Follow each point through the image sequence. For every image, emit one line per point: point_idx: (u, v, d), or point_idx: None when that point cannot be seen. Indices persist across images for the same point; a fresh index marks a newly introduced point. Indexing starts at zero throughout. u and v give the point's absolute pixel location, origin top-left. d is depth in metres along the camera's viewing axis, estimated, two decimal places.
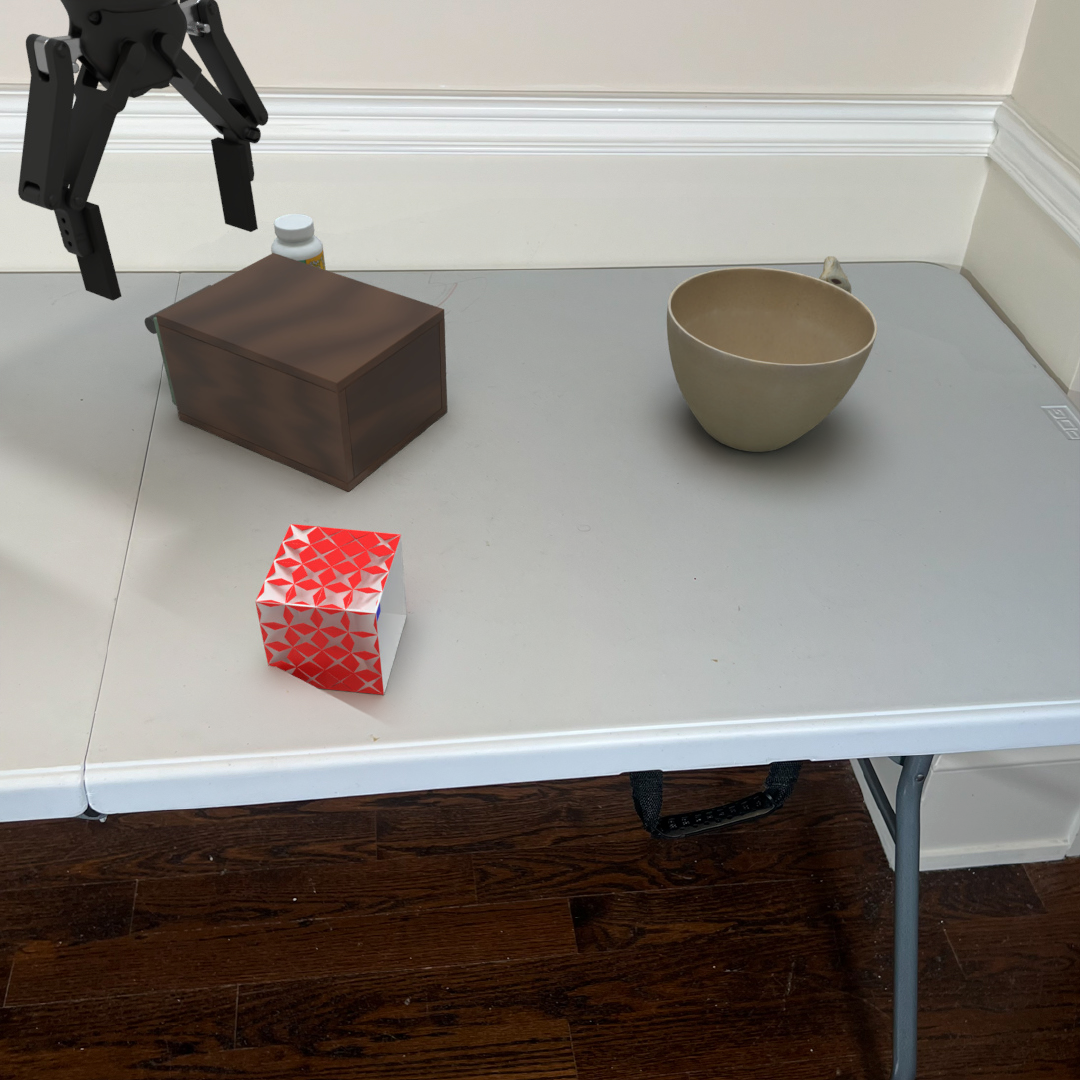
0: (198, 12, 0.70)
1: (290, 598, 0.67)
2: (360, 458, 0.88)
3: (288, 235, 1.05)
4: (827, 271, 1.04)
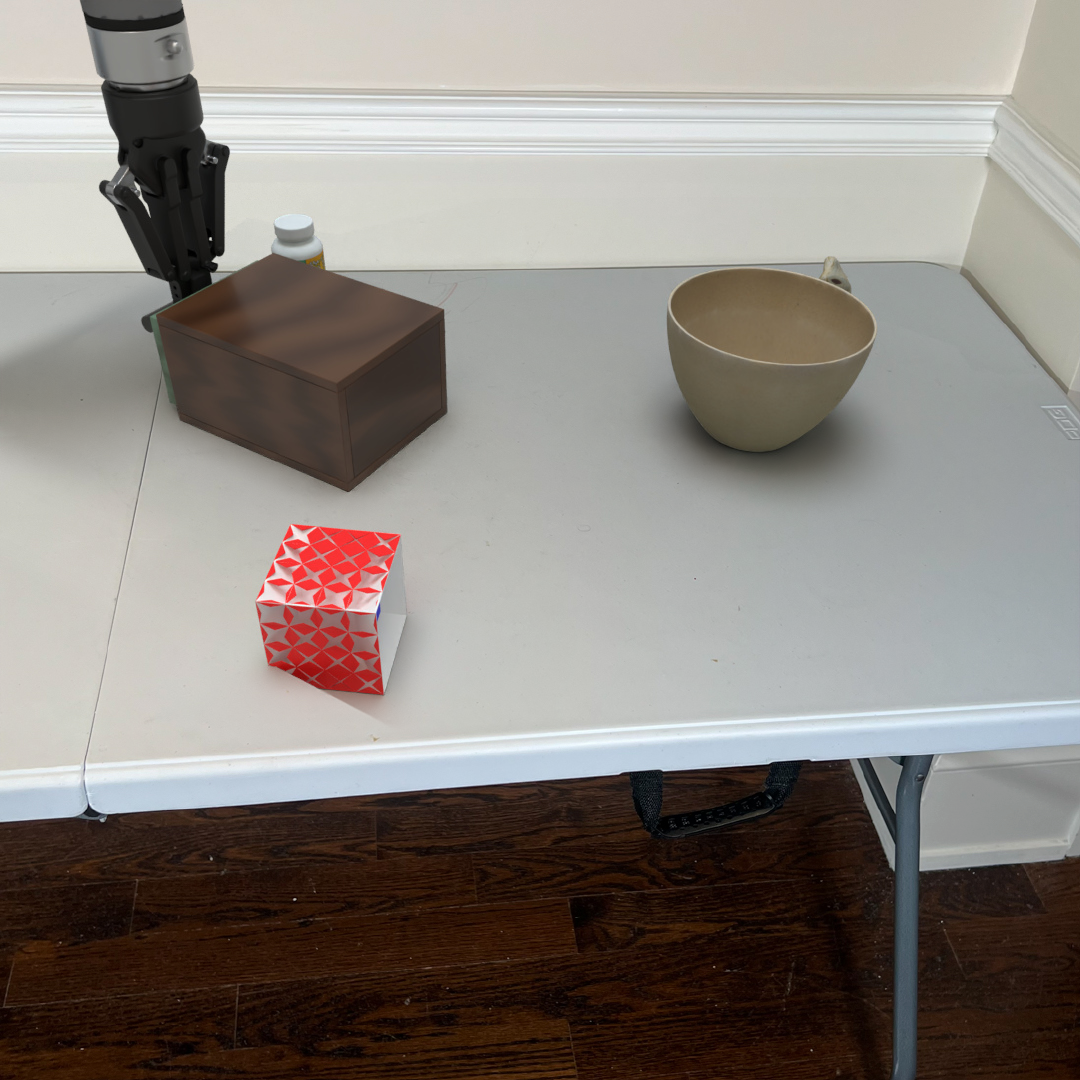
0: (213, 150, 0.92)
1: (290, 598, 0.67)
2: (360, 458, 0.88)
3: (288, 235, 1.05)
4: (827, 272, 1.04)
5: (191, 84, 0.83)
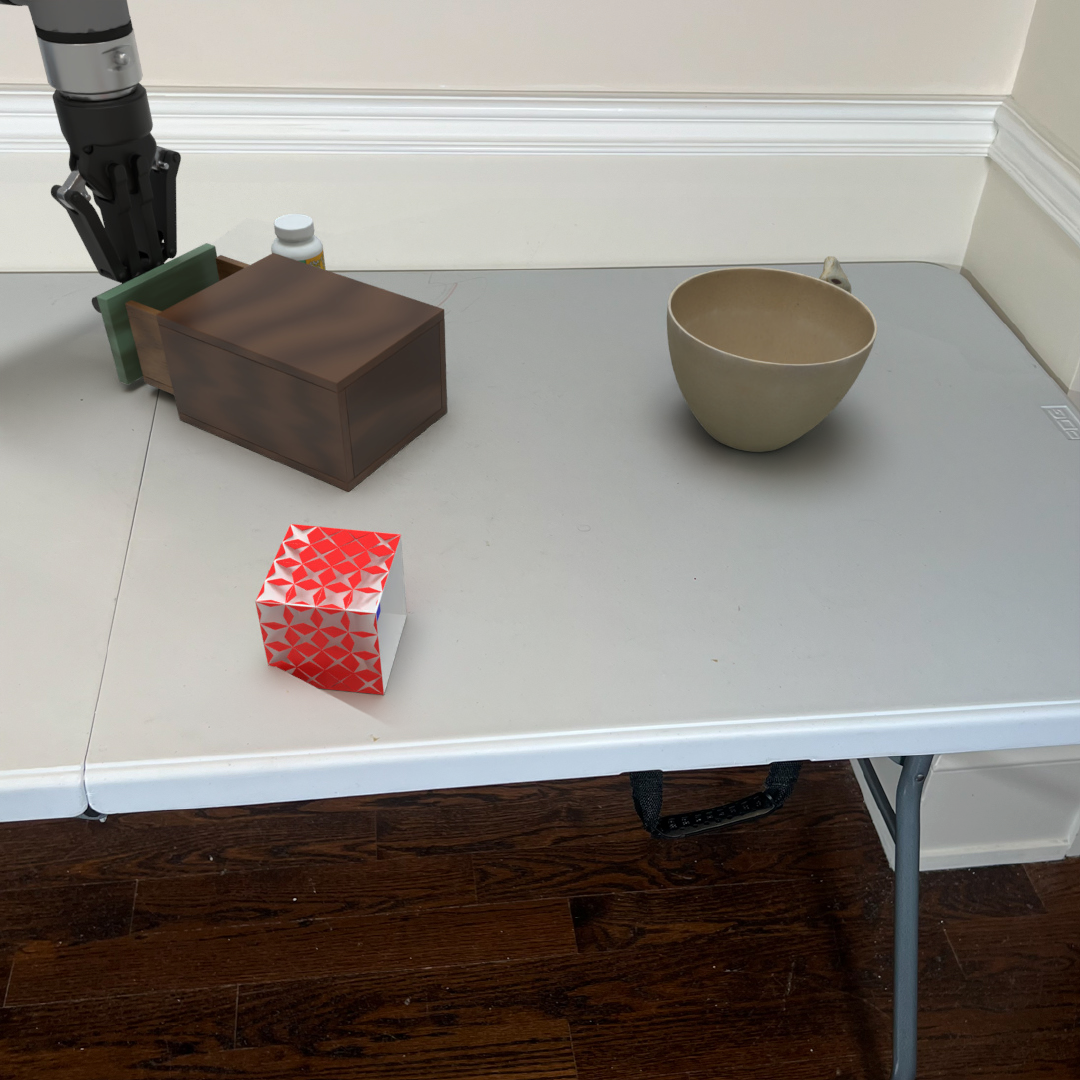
0: (164, 156, 0.95)
1: (290, 598, 0.67)
2: (360, 458, 0.88)
3: (288, 235, 1.05)
4: (827, 272, 1.04)
5: (139, 94, 0.87)
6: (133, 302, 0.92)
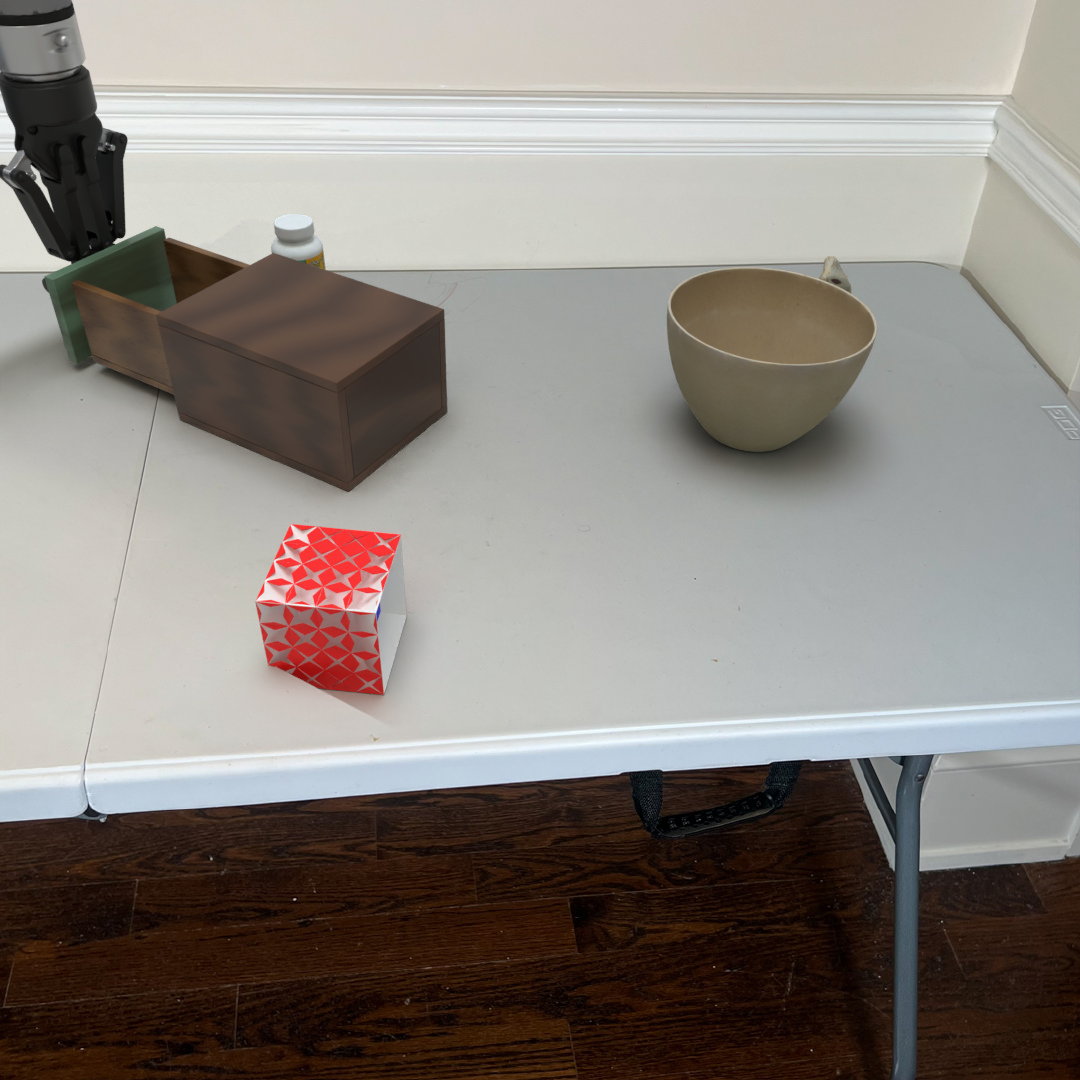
0: (111, 138, 0.98)
1: (290, 598, 0.67)
2: (360, 458, 0.88)
3: (288, 235, 1.05)
4: (827, 271, 1.04)
5: (82, 76, 0.90)
6: (79, 282, 0.95)
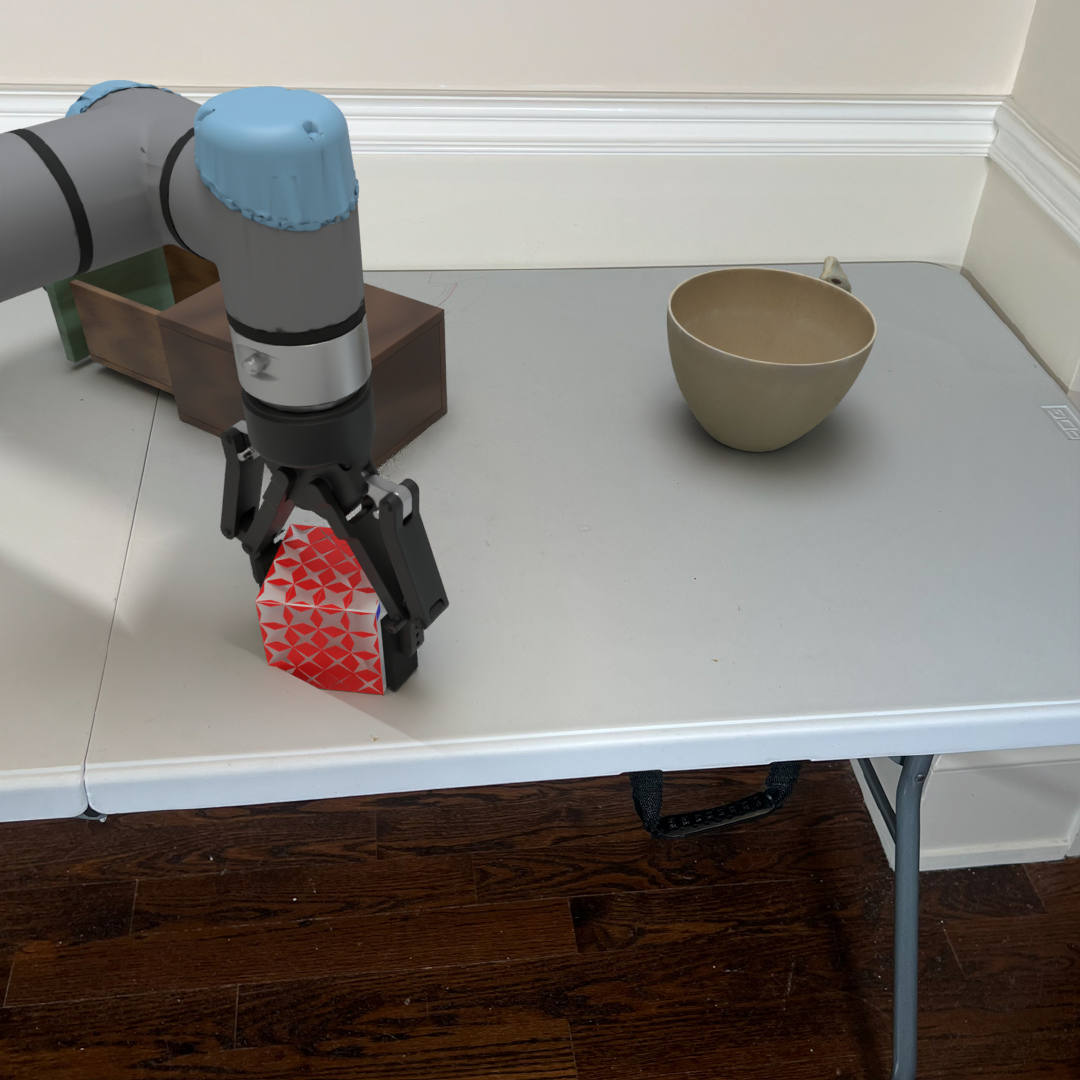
0: None
1: (290, 598, 0.67)
2: None
3: None
4: (827, 271, 1.04)
5: (288, 419, 0.57)
6: (77, 281, 0.95)
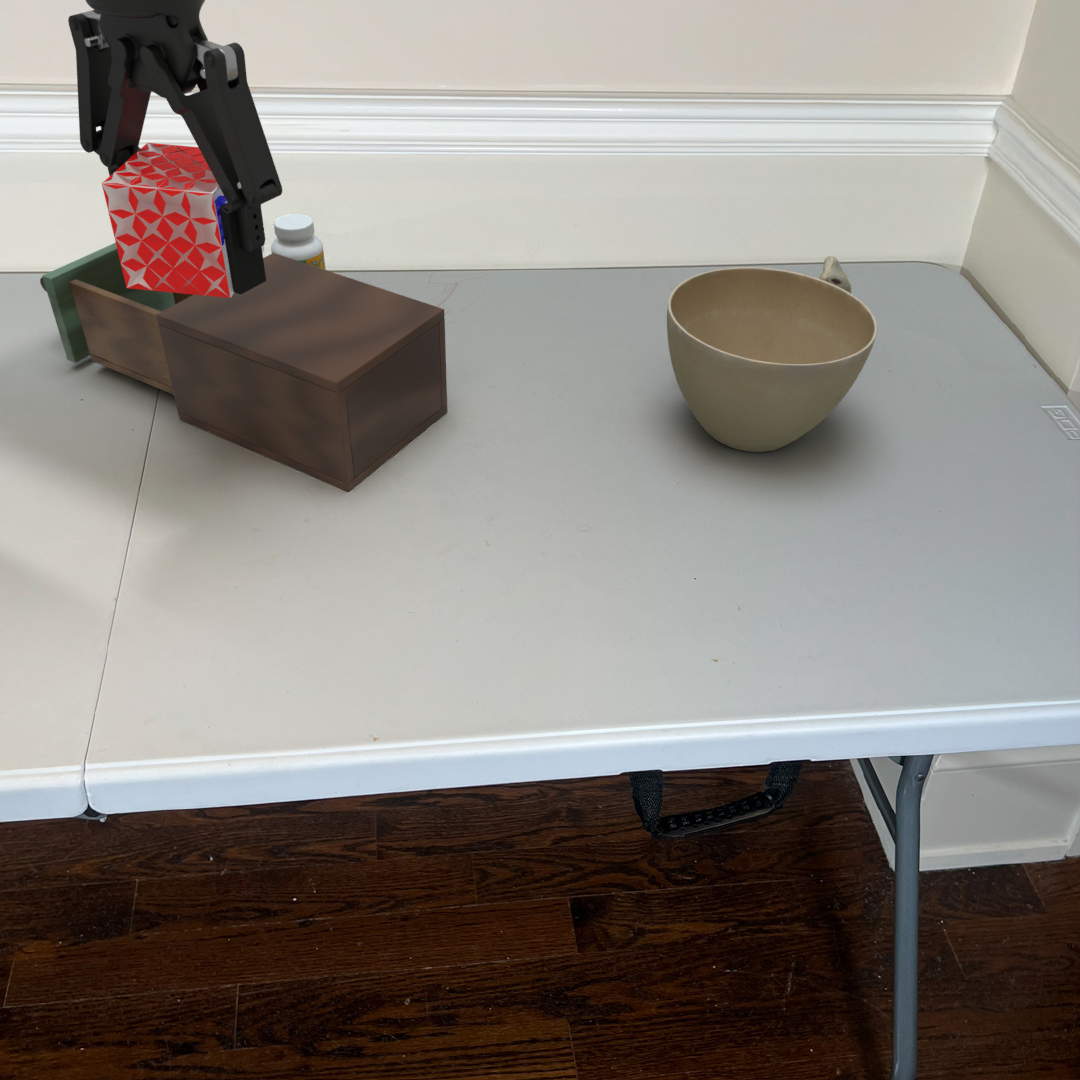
0: None
1: (135, 183, 0.71)
2: (360, 458, 0.88)
3: (288, 235, 1.05)
4: (827, 271, 1.04)
5: None
6: (77, 281, 0.95)
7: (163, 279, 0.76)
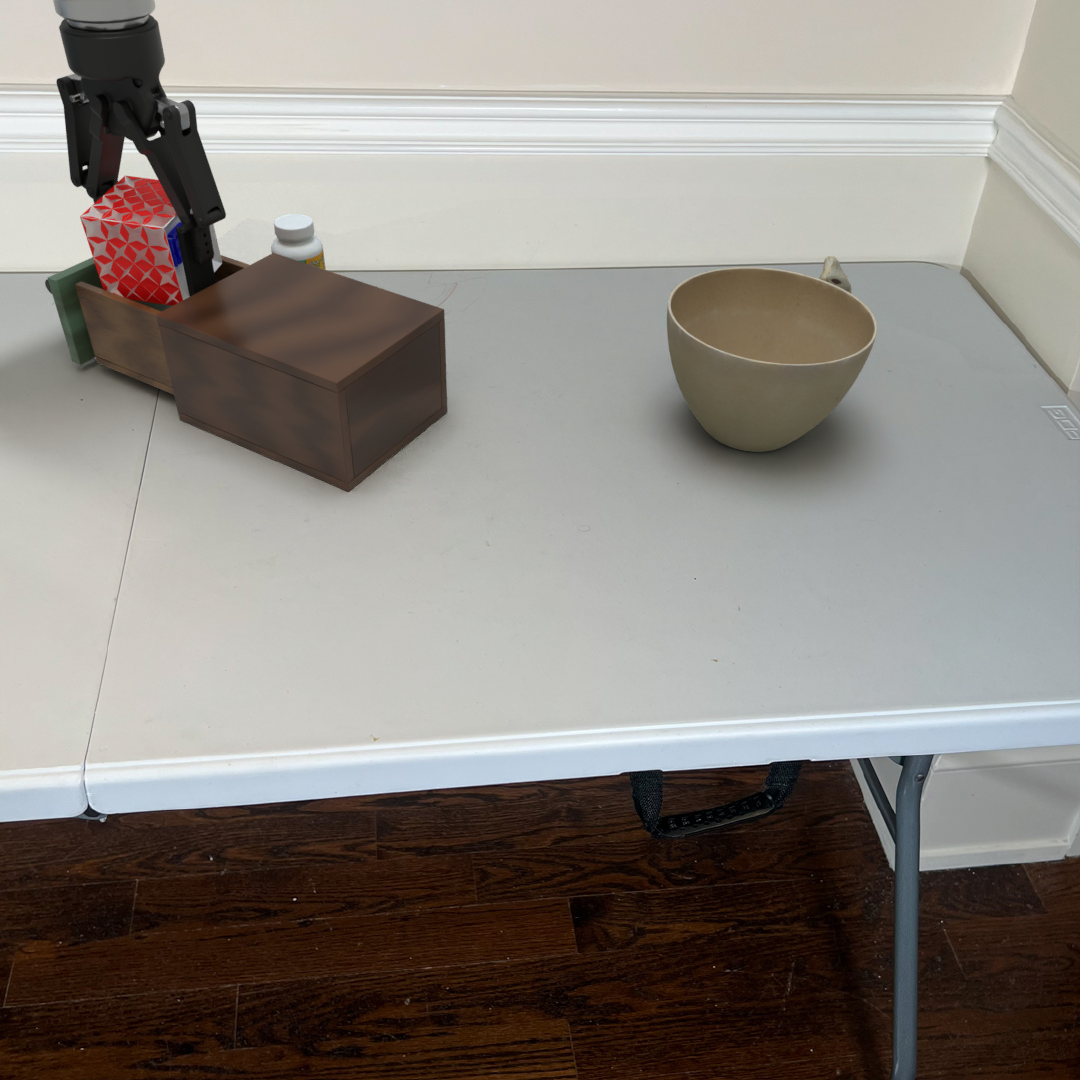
0: None
1: (106, 216, 0.89)
2: (360, 458, 0.88)
3: (288, 235, 1.05)
4: (827, 271, 1.04)
5: (88, 34, 0.80)
6: (83, 283, 0.95)
7: (133, 290, 0.94)
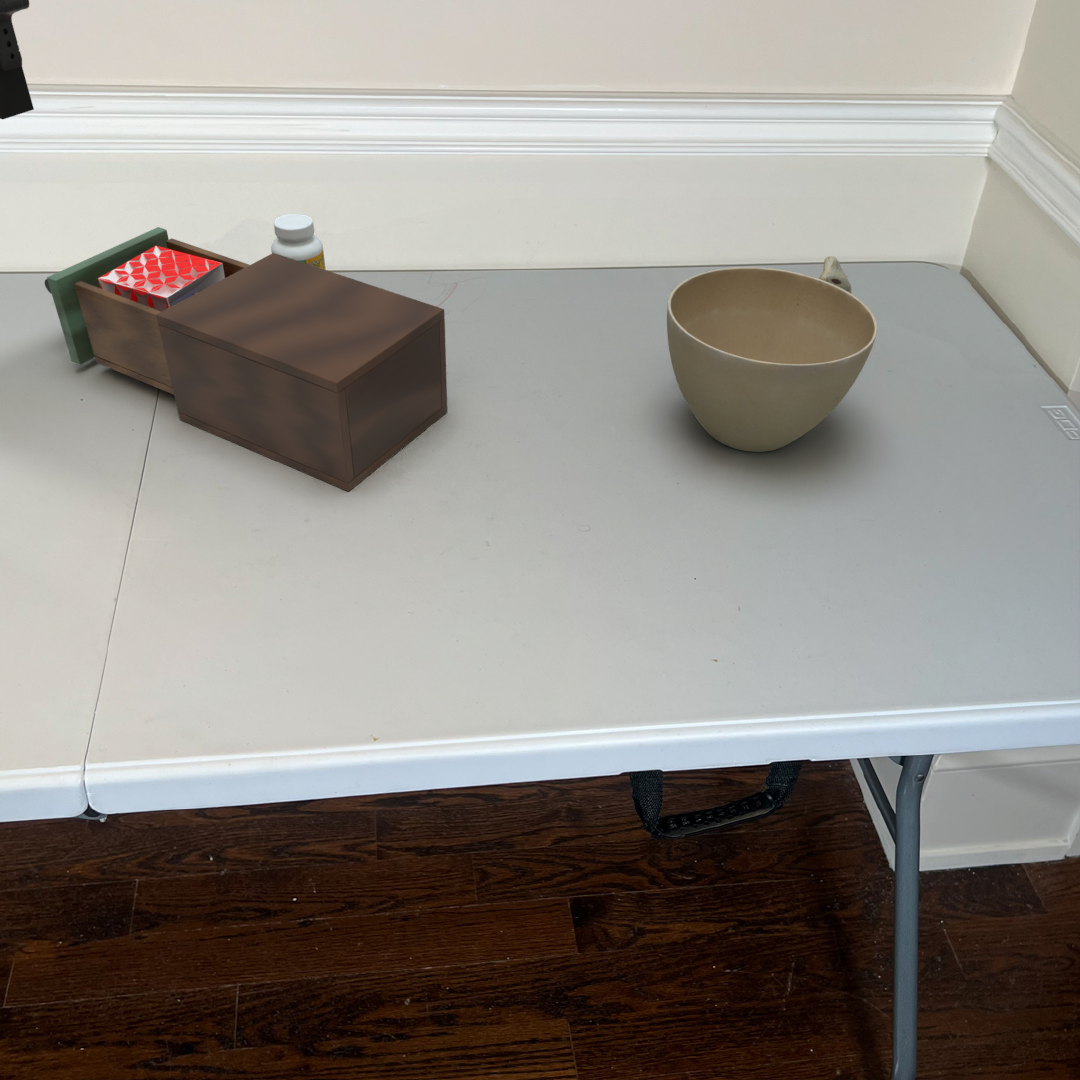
0: None
1: (120, 281, 0.94)
2: (360, 458, 0.88)
3: (288, 235, 1.05)
4: (827, 271, 1.04)
5: None
6: (82, 283, 0.95)
7: None
